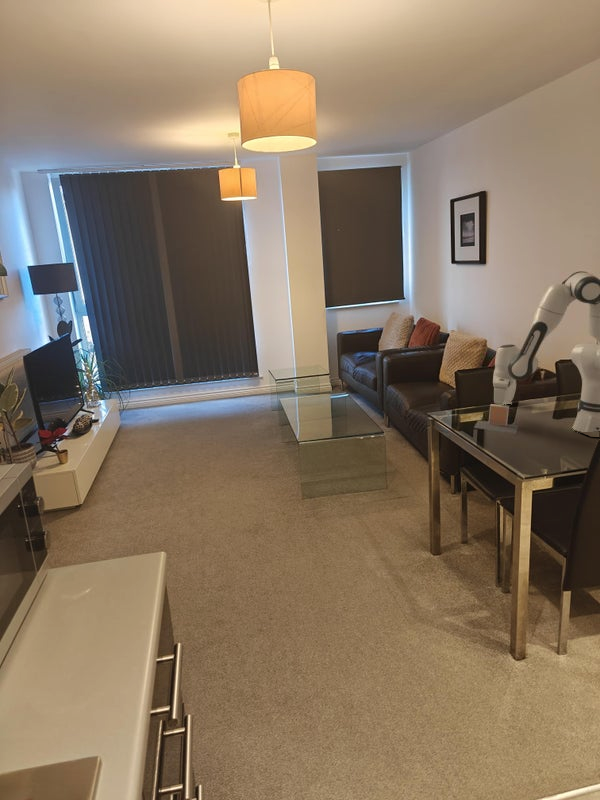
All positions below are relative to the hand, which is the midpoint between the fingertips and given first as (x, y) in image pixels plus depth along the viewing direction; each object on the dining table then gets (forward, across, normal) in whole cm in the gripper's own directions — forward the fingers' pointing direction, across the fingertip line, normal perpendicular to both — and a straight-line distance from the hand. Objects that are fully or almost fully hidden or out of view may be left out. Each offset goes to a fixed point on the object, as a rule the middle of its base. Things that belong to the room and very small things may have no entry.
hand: (500, 408), depth 248 cm
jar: (+7, -34, -2) cm, 35 cm away
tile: (+7, +4, 0) cm, 8 cm away
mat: (+7, +8, 0) cm, 10 cm away
